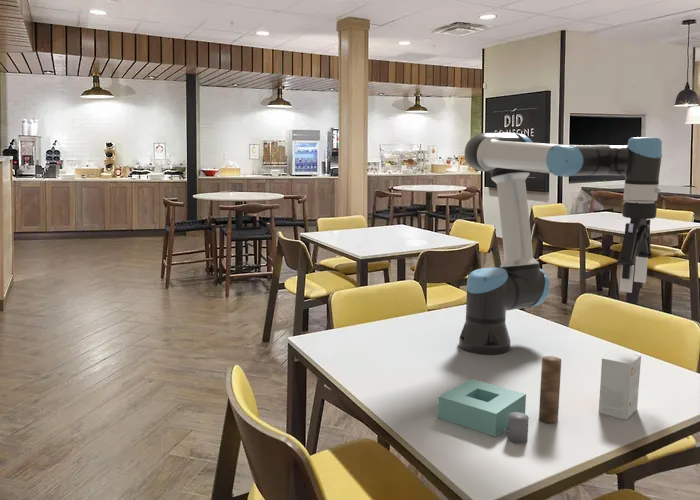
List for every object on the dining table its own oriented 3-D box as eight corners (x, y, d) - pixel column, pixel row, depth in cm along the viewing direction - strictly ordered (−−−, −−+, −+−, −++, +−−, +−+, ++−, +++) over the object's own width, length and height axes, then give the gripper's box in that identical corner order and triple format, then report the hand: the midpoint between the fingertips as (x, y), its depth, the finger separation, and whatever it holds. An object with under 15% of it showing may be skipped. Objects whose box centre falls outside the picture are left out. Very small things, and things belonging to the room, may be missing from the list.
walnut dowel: (535, 420, 137) (538, 359, 135) (543, 414, 140) (546, 354, 138) (553, 425, 135) (556, 363, 132) (560, 419, 138) (564, 358, 135)
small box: (609, 402, 147) (613, 349, 145) (637, 409, 143) (642, 354, 141) (597, 413, 141) (601, 357, 139) (626, 420, 137) (631, 364, 135)
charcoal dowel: (503, 439, 128) (504, 416, 127) (512, 433, 131) (513, 410, 130) (522, 445, 126) (523, 422, 125) (530, 438, 129) (531, 415, 128)
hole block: (438, 417, 139) (438, 396, 138) (470, 398, 149) (470, 378, 148) (495, 436, 130) (496, 413, 129) (525, 415, 140) (526, 393, 139)
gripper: (643, 206, 140) (636, 298, 143) (668, 199, 159) (660, 280, 163) (609, 204, 144) (602, 293, 148) (636, 197, 164) (630, 276, 167)
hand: (632, 286), depth 155 cm, fingers open, 13 cm apart
